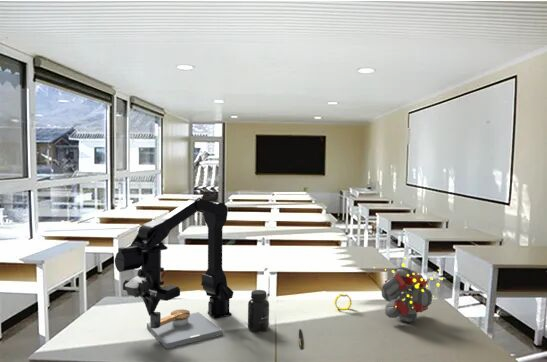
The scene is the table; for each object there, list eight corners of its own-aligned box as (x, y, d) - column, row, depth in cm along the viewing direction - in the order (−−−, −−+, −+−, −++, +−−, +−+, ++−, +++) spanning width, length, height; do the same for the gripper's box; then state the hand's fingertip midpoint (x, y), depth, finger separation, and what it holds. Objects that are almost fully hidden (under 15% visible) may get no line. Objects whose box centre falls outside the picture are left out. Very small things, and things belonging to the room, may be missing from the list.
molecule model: (413, 341, 127) (415, 267, 126) (357, 321, 143) (358, 255, 142) (453, 320, 144) (454, 255, 143) (398, 304, 159) (400, 245, 158)
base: (198, 316, 147) (198, 306, 146) (222, 334, 132) (222, 323, 131) (146, 327, 137) (146, 317, 137) (166, 349, 122) (166, 337, 121)
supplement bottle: (266, 333, 133) (266, 296, 132) (245, 331, 134) (245, 294, 133) (270, 325, 139) (271, 289, 139) (250, 323, 141) (250, 288, 140)
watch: (349, 308, 156) (350, 292, 156) (351, 311, 153) (352, 295, 153) (333, 307, 156) (334, 291, 155) (335, 310, 153) (336, 294, 152)
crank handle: (180, 311, 141) (180, 299, 140) (193, 315, 137) (193, 303, 137) (145, 325, 129) (144, 312, 129) (158, 330, 125) (158, 317, 125)
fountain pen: (298, 330, 136) (298, 325, 136) (301, 330, 136) (301, 325, 136) (299, 350, 122) (299, 345, 122) (303, 350, 122) (303, 345, 122)
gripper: (108, 266, 126) (108, 317, 127) (154, 277, 117) (153, 332, 118) (137, 258, 136) (137, 306, 137) (181, 268, 127) (181, 318, 128)
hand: (150, 315), depth 130 cm, fingers closed
